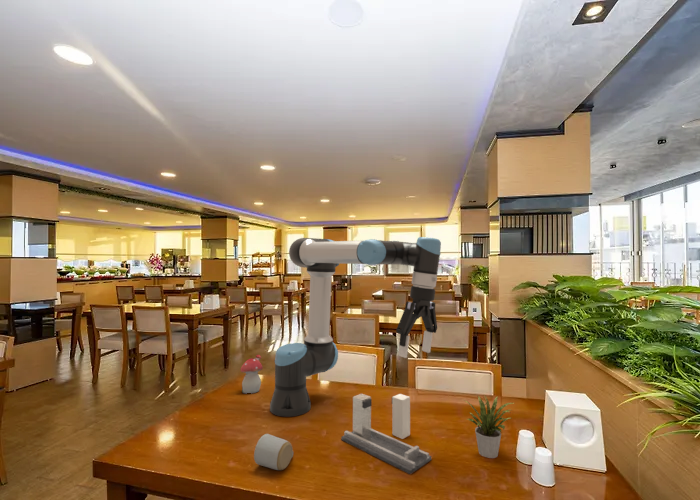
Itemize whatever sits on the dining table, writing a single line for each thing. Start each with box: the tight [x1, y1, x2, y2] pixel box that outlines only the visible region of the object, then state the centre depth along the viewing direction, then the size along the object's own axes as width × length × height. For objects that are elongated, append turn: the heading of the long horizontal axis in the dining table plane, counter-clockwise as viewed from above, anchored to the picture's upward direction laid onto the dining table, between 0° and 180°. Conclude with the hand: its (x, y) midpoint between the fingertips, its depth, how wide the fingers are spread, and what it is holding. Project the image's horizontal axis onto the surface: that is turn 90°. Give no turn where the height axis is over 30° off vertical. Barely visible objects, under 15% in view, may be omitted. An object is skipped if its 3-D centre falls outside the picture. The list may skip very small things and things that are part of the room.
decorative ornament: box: [240, 354, 263, 394], centre depth 156 cm, size 9×7×15 cm
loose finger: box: [391, 393, 411, 440], centre depth 117 cm, size 5×4×12 cm
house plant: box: [463, 394, 514, 459], centre depth 105 cm, size 14×14×16 cm
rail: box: [341, 393, 432, 475], centre depth 108 cm, size 26×10×13 cm, turn 45°
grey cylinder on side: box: [253, 433, 294, 471], centre depth 100 cm, size 11×8×8 cm
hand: (414, 354), depth 114 cm, fingers open, 13 cm apart
